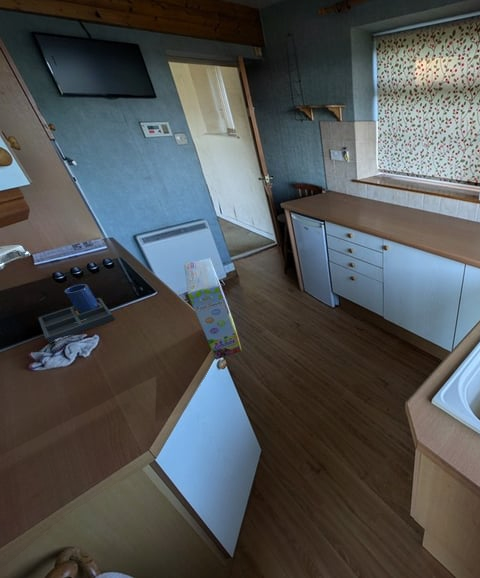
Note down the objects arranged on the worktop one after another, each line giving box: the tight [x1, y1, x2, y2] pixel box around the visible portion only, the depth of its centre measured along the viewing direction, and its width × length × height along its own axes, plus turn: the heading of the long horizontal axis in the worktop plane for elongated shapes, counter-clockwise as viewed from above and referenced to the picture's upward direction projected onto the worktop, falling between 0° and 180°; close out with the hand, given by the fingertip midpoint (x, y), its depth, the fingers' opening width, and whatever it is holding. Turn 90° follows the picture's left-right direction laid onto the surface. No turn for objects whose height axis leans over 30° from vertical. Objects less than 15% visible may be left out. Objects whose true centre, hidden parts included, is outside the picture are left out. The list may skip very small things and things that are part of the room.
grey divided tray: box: [37, 297, 116, 344], centre depth 108 cm, size 18×18×3 cm
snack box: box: [183, 257, 243, 360], centre depth 95 cm, size 22×9×26 cm, turn 33°
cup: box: [64, 283, 100, 314], centre depth 110 cm, size 6×6×10 cm
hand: (15, 259), depth 99 cm, fingers open, 8 cm apart
